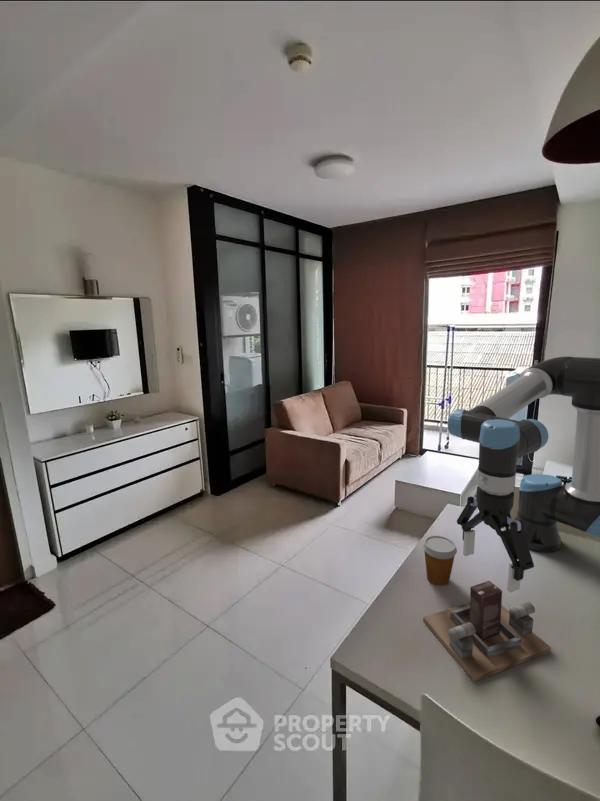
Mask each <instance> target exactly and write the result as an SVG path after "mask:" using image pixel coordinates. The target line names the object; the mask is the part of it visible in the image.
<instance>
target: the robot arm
mask: <svg viewBox="0 0 600 801" xmlns="http://www.w3.org/2000/svg"><path fill="white" fill-rule="evenodd" d="M549 395H556V396H557V395H558V396H564V397H569V398H570V397H571V406H572V407H573V408H575V409H576V411H577V412H576V423H575V434H574V435H575V437H574V446H573V458H572V459H573V460H572V471H571V473H572V474H571V481H570V482H568V483H566V484H565V485H563V481H562V479H560V477H557V476H555V475H550V474H543V473H542V474H541V473H539V474H538V473H536V474H535V473H534V474H528V475H525V476H523V477H522V478H521V479H520V483H519V488H518V501H517V511H516V512H517V514H516V516H515V518H512V516H511V511H512V509H513V507H514V503H515V502H514V500H515V493H514V491H515V490H516V475H517V464H518V460H519V459H521V458H522V457H524V456H527V455H530V454H532V453H536V452H537V451H539V450H540V449H542V448H544V447H545V445H546V444H547V443H548V441H549V431H548V429H547V427H546V426H545V424H543V423H542V422H541V421H539V420H537V419H533V418H528V419H527V418H525V419H521V420H515V419H511V418H512V417H513V416H515V415H516V414H517V413H519V412H520V411H522V409H524V408H526V407H527V406H529V405H530V404H531V403H532V402H535V401H536V400H537V399H543V398H546V397H547V396H549ZM446 425H447V430H448V432H449V433H450V435H452V436H454V437H457V438H460V439H462V440H467V441H470V442H474V443H477V444H479V445H478V446H479V447H478V448H479V449H478V450H479V451H478V465H477V466H478V467H477V483H476V484H477V487H476V492H475V493H476V495H475V494H474V495H470V496H468V497H467V500H466V504H465V506H464V508H463V509H462V511H461V513H460V514H459V516H458V518H457V520H456V523H457V525H459V526H460V527H461V530H462V541H463V549H462V550H463V551H462V555H463V556H464V557H468V556H471V555H474V554H475V541H476V530H474V529H475V527H477V526H478V525H480V524H481V523H482V522H483V523H484V524H485V525H486V526H489V527H490V528H491V529H492V530H494V531H495V533H496V535H497V536H499V537H500V540H501V542H502V543H503V544H502V545H503V546H504V549H505V550H506V552H507V554H508V556H509V559H510V561H511V563H510V564H509V565H508V576H507V587H506V590H507V591H508V592H509V593H512V592H515V591H518V590H520V589H521V581H522V580H523V579H524V574H525V571H527V570H530V569H531V570H532V569H533V568H535V564H534V561H533V557H532V554H531V551H536V552H540V553H551V552H552V553H553V552H556V551H558V550H559V549H560V548H561V543H562V539H561V536H560V533H559V532H560V531H559V527H558V524H557V523H560V524H562V525H565V526H568V527H571V528H573V529H576V530H579V531H580V532H581V531H582V532H583V533H585V534H589V535H591V536H594V537H598V538H600V357H587V356H586V357H582V356H581V357H580V356H578V357H577V356H567V355H566V356H556V357H553V358H549V359H546V360H542V361H541V362H537V363H535V364H534V365H532V366H528V368H527V369H525V370H523V371H522V372H521V373H519V376H518V378H517V379H516V380H514V381H512V382H511V383H509V384H508V385H506V386H504V387H503V388H502V389H500V390H498V391H497V392H495V393H494V394H492V395H491V396H489V397H487V399H485V400H484V401H482V402H480V403H479V404H478V405H475V406H474V407H472V408H471V409H469V410H467V409H459V408H457V409H455V410H453V411H452V412H451V413H450V415H449V416H448V420H447V424H446ZM476 509H478V513H477V514H475V515H474V516H473V514H474V513H475V511H476ZM472 516H473V517H472ZM470 518H471V519H470ZM504 528H505V529H504ZM502 529H504V530H502Z"/></svg>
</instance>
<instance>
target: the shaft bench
mask: <svg viewBox="0 0 600 801" xmlns="http://www.w3.org/2000/svg"><path fill="white" fill-rule="evenodd" d="M535 612H536V608H535V606H534V604H533V603H531V602H529V601H528V602H525V603H522V604H519V605H516V606H513V607H510V608H509V609H507V608H506V607H505V606H503V605H502V604H501V621H500V633H499V634H497V635H494V636H491V637H489V638H486V639H484V640H481V639H480V638H479V637H478V636H477V635H476V634H475V633H476V630H475V627H474V625H473V624H472V623H471V622H469V618H470V601H469V602H466V603H464V604H463V603H462V604H460V605H458V606H454V607H451V608H448V609H444V610H442V611H441V610H440V611H439V612H435V613H432V614H429V615H426V616H423V617H422V621H423V623H424V624H425V626H427V627H428V629H429V630H430V631H431V632H432V634H434V636H435V637H436V638H437V639H438V641H439V642H440V643H441V644H442V645H443V647H445V649H446V650H447V651H448V653H449V654H450V655H451V656H452V657H453V659H454V660H455V661H456V662H457V663H458V665H459V666H461V668H462V669H463V671H464V673H466V675H468V676H469V678H470V679H471V680H472V681H473V682H474V683H476V682H478V681H481V680H483V679H485V678H489V677H492V676H493V675H496V674H498V673H501V672H503V671H506V670H509V669H511V668H513V667H514V668H515V667H516V666H518V665H520V664H523V663H526V662H528V661H531V660H533V659H537V658H538V657H541V656H543V655H546V654H548V653H550V652H552V650H551V649H552V647H551V646H550V645H549V644H548V643H546V641H544V640H543V639H542V638H541V637H539V635H537V634H536V633H535V632H534V631H533V628H534V618H533V617H532V616H530V615H531V614H534V613H535Z"/></svg>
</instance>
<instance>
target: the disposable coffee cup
mask: <svg viewBox="0 0 600 801" xmlns="http://www.w3.org/2000/svg"><path fill="white" fill-rule="evenodd" d="M422 548H423V552H424V560H425V568H426V571H425V572H426V579H427V580H428V582H429V583H430V584H432V585H434V586H437V587H438V586H439V587H445V586H447V585H449V583H450V578H451V576H452V575H451V574H452V570H453V564H454V561H455V560H454V559H455V556H456V554H457V553H458V552H457V551H458V549H457V547H456V544H455V542H454V541H453V540H452V539H451V538H448V537H446V536H443V535H430V536H427V537H425V539H424V540H423V543H422Z"/></svg>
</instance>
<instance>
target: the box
mask: <svg viewBox="0 0 600 801" xmlns="http://www.w3.org/2000/svg"><path fill="white" fill-rule="evenodd" d="M469 588H470V594H469V595H470V596H469V597H470V598H469V602H470V618H469V622H471V623H472V624H473V625H474V627H475V630H476V633H475V634H476V635H477V636H478V637H479V638H480V639H481V640H484V639H486V638H489V637H491V636H494V635H497V634H499V633H500V621H501V605H502V603H503V602H502V601H503V600H502V599H503V590H502V589H501V588H499V587H498V586H497V585H496V584H494V583H493V582H492V581H490V580H487V581H484V582H481V583H478V584H476V585H472V586H470V587H469Z"/></svg>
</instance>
